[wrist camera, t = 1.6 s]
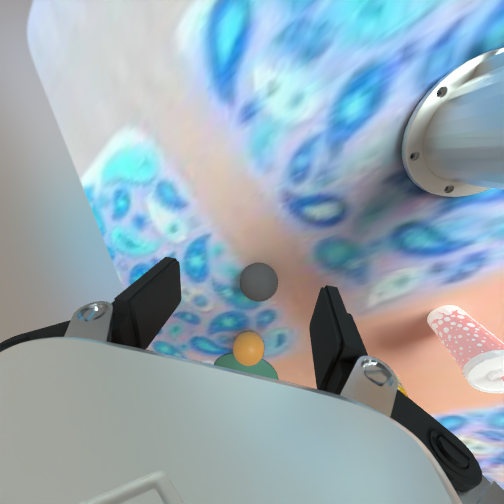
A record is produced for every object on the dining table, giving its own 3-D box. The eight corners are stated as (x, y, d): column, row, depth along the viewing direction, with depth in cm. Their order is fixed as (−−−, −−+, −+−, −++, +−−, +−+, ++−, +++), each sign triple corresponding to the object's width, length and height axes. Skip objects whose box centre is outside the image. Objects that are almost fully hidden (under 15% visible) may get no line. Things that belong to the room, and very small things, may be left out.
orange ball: (238, 321, 37) (230, 347, 32) (267, 328, 37) (264, 354, 32) (235, 342, 40) (228, 369, 35) (263, 348, 39) (260, 376, 34)
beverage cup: (412, 324, 32) (493, 434, 19) (440, 295, 29) (556, 401, 16) (449, 338, 32) (555, 457, 19) (481, 309, 29) (629, 427, 16)
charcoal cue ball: (245, 253, 31) (237, 272, 26) (281, 260, 30) (280, 279, 26) (242, 283, 33) (234, 305, 28) (275, 289, 33) (273, 313, 28)
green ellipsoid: (214, 346, 41) (214, 346, 41) (283, 361, 40) (283, 362, 39) (212, 387, 47) (212, 388, 47) (272, 402, 46) (272, 403, 46)
